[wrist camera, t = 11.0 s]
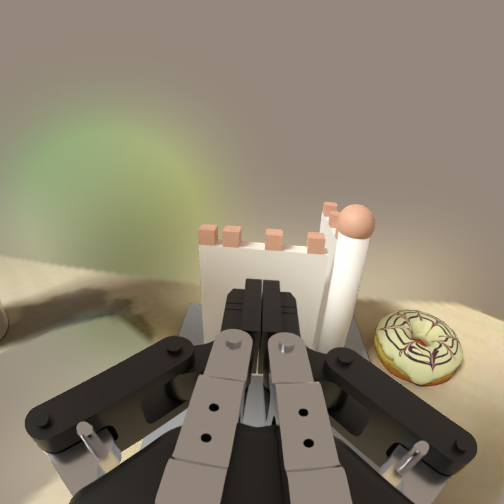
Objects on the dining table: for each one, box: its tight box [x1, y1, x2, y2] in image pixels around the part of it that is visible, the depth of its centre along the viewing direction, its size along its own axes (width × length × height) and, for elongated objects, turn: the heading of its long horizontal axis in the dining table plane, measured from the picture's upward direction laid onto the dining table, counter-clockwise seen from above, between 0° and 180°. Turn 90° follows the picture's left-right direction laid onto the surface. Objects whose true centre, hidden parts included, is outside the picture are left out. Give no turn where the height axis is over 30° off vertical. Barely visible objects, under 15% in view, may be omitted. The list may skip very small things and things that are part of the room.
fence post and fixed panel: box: [314, 202, 375, 354], centre depth 28 cm, size 3×11×16 cm, turn 177°
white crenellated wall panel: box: [198, 224, 329, 367], centre depth 26 cm, size 10×1×13 cm, turn 84°
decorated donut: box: [374, 309, 463, 386], centre depth 29 cm, size 10×11×4 cm
